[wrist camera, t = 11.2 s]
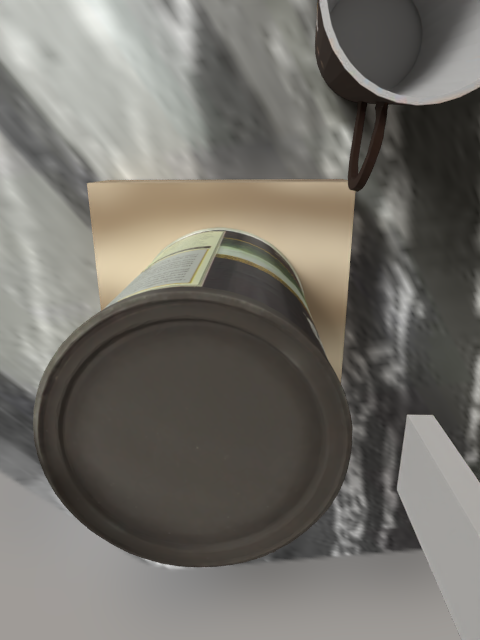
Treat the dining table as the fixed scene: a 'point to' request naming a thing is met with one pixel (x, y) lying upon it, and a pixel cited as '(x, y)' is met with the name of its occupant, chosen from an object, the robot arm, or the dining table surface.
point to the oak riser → (237, 213)
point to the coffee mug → (396, 58)
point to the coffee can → (197, 408)
